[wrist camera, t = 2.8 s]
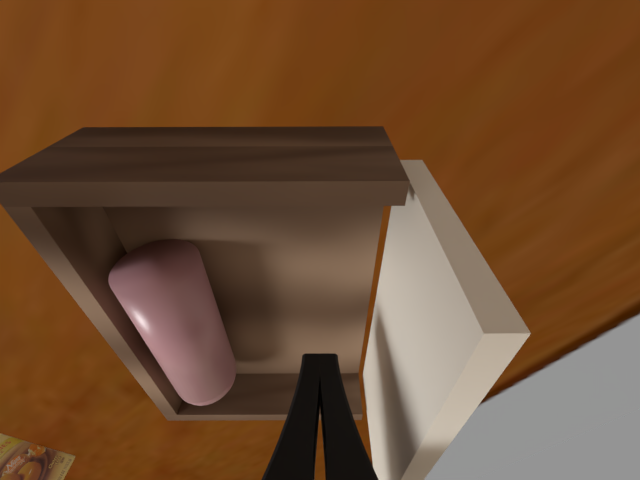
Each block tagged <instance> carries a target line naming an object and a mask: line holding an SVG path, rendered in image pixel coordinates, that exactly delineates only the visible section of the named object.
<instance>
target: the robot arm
mask: <svg viewBox="0 0 640 480" xmlns="http://www.w3.org/2000/svg"><path fill="white" fill-rule="evenodd" d="M319 412H321V424H322V437H323V449H324V462H325V479H326V480H379V479H378V477H377V475H376V473H375V471H374V468H373V466H372V464H371V461H370V459H369V457H368V454H367V452H366V450H365V447H364V445H363V442H362V440H361V437H360V434H359V432H358V429H357V426H356V424H355V421H354V418H353V415H352V412H351V409H350V406H349V403H348V400H347V396H346V393H345V389H344V385H343V382H342V377H341V373H340V368H339V362H338V355H337V354H335V353H305V354H303V355H302V362H301V368H300V373H299V377H298V382H297V385H296V389H295V393H294V396H293V399H292V402H291V406H290V409H289V412H288V415H287V418H286V421H285V423H284V426H283V429H282V431H281V434H280V437H279V440H278V442H277V445H276V447H275V450H274V452H273V454H272V457H271V459H270V461H269V464H268V466H267V468H266V471H265V473H264V475H263V477H262V479H261V480H315V462H316V450H317V437H318V425H319Z"/></svg>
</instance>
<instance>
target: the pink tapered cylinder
mask: <svg viewBox="0 0 640 480" xmlns="http://www.w3.org/2000/svg"><path fill="white" fill-rule="evenodd" d="M108 282H109V286H110V288H111V289H112V291H113V292H114V294H115V296H116V297H117V299H118V300H119V302H120V303H121V305H122V307H123V308H124V310H125V311H126V313H127V314H128V316H129V318H130V319H131V321H132V322H133V324H134V326H135V327H136V329H137V330H138V332H139V333H140V335H141V337H142V338H143V340H144V341H145V343H146V344H147V346H148V348H149V349H150V351H151V352H152V354H153V355H154V357H155V359H156V360H157V362H158V363H159V365H160V366H161V368H162V370H163V371H164V373H165V374H166V376H167V378H168V379H169V381H170V382H171V384H172V385H173V387H174V389H175V390H176V392H177V393H178V395H179V396H180V397H181V398H182V399H183V400H184V401H186V402H187V403H190V404H193V405H197V406H204V405H209V404H212V403H214V402H216V401H218V400H220V399H221V398H222V397H223V396H225V395H226V394H227V393H228V391H229V390H230V389H231V387H232V385H233V383H234V380H235V377H236V361H235V358H234V355H233V352H232V349H231V346H230V343H229V340H228V337H227V334H226V331H225V328H224V325H223V322H222V319H221V316H220V313H219V310H218V307H217V304H216V301H215V298H214V295H213V292H212V289H211V286H210V283H209V280H208V277H207V274H206V271H205V268H204V264H203V261H202V258H201V255H200V252H199V250H198V249H197V247H196V246H195V245H193V244H192V243H190V242H187V241H184V240H178V239H166V240H159V241H154V242H151V243H148V244H145V245H142V246H140V247H138V248H136V249H134V250H132V251H130V252H129V253H127V254H126V255H124V256H123V257H122V258H121V259H120V260H119V261H118V262H117V263H116V264H115V265H114V266H113V268H112V269H111V272H110V274H109V279H108Z"/></svg>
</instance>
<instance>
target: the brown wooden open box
mask: <svg viewBox="0 0 640 480" xmlns="http://www.w3.org/2000/svg"><path fill="white" fill-rule="evenodd" d="M409 183H410V180H409V178H408V176H407V174H406V172H405V170H404V168H403V166H402V164H401V162H400V160H399V158H398V156H397V154H396V152H395V150H394V147H393V145H392V143H391V141H390V139H389V137H388V135H387V133H386V131H385V129H384V127H383V126H327V127H83V128H81V129H79V130H77V131H75V132H74V133H72V134H70V135H68V136H66V137H65V138H63V139H61V140H59V141H57V142H56V143H54V144H52V145H50V146H48V147H47V148H45V149H43V150H41V151H39V152H38V153H36V154H34V155H32V156H30V157H29V158H27V159H25V160H23V161H21V162H20V163H18V164H16V165H14V166H12V167H11V168H9V169H7V170H5V171H3V172H2V173H0V204H1V205H2V206H3V208H4V209H5V210H6V212H7V213H8V214H9V215H10V217H11V218H12V219H13V221H14V222H15V223H16V225H17V226H18V227H19V228H20V230H21V231H22V232H23V234H24V235H25V236H26V237H27V239H28V240H29V241H30V243H31V244H32V245H33V247H34V248H35V249H36V250H37V252H38V253H39V254H40V256H41V257H42V258H43V260H44V261H45V262H46V263H47V265H48V266H49V267H50V269H51V270H52V271H53V273H54V274H55V275H56V276H57V278H58V279H59V280H60V282H61V283H62V284H63V285H64V287H65V288H66V289H67V291H68V292H69V293H70V295H71V296H72V297H73V298H74V300H75V301H76V302H77V304H78V305H79V306H80V308H81V309H82V310H83V311H84V313H85V314H86V315H87V317H88V318H89V319H90V320H91V322H92V323H93V324H94V326H95V327H96V328H97V330H98V331H99V332H100V333H101V335H102V336H103V337H104V339H105V340H106V341H107V343H108V344H109V345H110V346H111V348H112V349H113V350H114V352H115V353H116V354H117V355H118V357H119V358H120V359H121V361H122V362H123V363H124V365H125V366H126V367H127V368H128V370H129V371H130V372H131V374H132V375H133V376H134V378H135V379H136V380H137V381H138V383H139V384H140V385H141V387H142V388H143V389H144V391H145V392H146V393H147V394H148V396H149V397H150V398H151V400H152V401H153V402H154V403H155V405H156V406H157V407H158V409H159V410H160V411H161V413H162V414H163V415H164V416H165V418H166V419H167V420H168V421H194V420H286V418H287V415H288V412H289V409H290V406H291V402H292V399H293V396H294V393H295V389H296V385H297V382H298V377H299V373H300V368H301V362H302V355H303V354H305V353H335V354H337V355H338V362H339V368H340V373H341V377H342V382H343V385H344V389H345V393H346V396H347V400H348V403H349V406H350V409H351V412H352V415H353V418H354V420H362V415H363V413H362V403H361V393H360V384H359V374H358V373H359V366H360V359H361V353H362V346H363V340H364V333H365V326H366V320H367V313H368V307H369V300H370V293H371V287H372V280H373V274H374V267H375V260H376V254H377V247H378V241H379V234H380V227H381V221H382V214H383V208H384V206H405V203H406V198H407V193H408V188H409ZM166 239H178V240H184V241H187V242H190V243H192V244H193V245H195V246H196V247H197V249H198V250H199V252H200V255H201V258H202V261H203V264H204V268H205V271H206V274H207V277H208V280H209V283H210V286H211V289H212V292H213V295H214V298H215V301H216V304H217V307H218V310H219V313H220V316H221V319H222V322H223V325H224V328H225V331H226V334H227V337H228V340H229V343H230V346H231V349H232V352H233V355H234V358H235V361H236V377H235V380H234V383H233V385H232V387H231V389H230V390H229V391H228V393H227V394H226V395H225V396H223V397H222V398H221V399H220V400H218V401H216V402H214V403H212V404H209V405H204V406H197V405H193V404H190V403H187V402H186V401H184V400H183V399H182V398H181V397H180V396H179V395H178V393H177V392H176V390H175V389H174V387H173V385H172V384H171V382H170V381H169V379H168V378H167V376H166V374H165V373H164V371H163V370H162V368H161V366H160V365H159V363H158V362H157V360H156V359H155V357H154V355H153V354H152V352H151V351H150V349H149V348H148V346H147V344H146V343H145V341H144V340H143V338H142V337H141V335H140V333H139V332H138V330H137V329H136V327H135V326H134V324H133V322H132V321H131V319H130V318H129V316H128V314H127V313H126V311H125V310H124V308H123V307H122V305H121V303H120V302H119V300H118V299H117V297H116V296H115V294H114V292H113V291H112V289H111V288H110V286H109V282H108V279H109V274H110V272H111V269H112V268H113V266H114V265H115V264H116V263H117V262H118V261H119V260H120V259H121V258H122V257H123V256H124V255H126V254H127V253H129V252H130V251H132V250H134V249H136V248H138V247H140V246H142V245H145V244H148V243H151V242H154V241H159V240H166ZM319 420H321V412H319Z"/></svg>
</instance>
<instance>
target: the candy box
mask: <svg viewBox="0 0 640 480" xmlns="http://www.w3.org/2000/svg"><path fill="white" fill-rule="evenodd" d="M74 459H75V456H74V455H71V454H67V453H64V452H61V451H57V450H53V449H50V448H47V447H43V446H40V445H37V444H33V443H30V442H27V441H23V440H21V439H18V438H14V437H11V436H7V435H4V434H1V433H0V480H64V478H65V476H66V474H67V472H68V470H69V468H70V466H71V465H72V463H73V461H74Z"/></svg>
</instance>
